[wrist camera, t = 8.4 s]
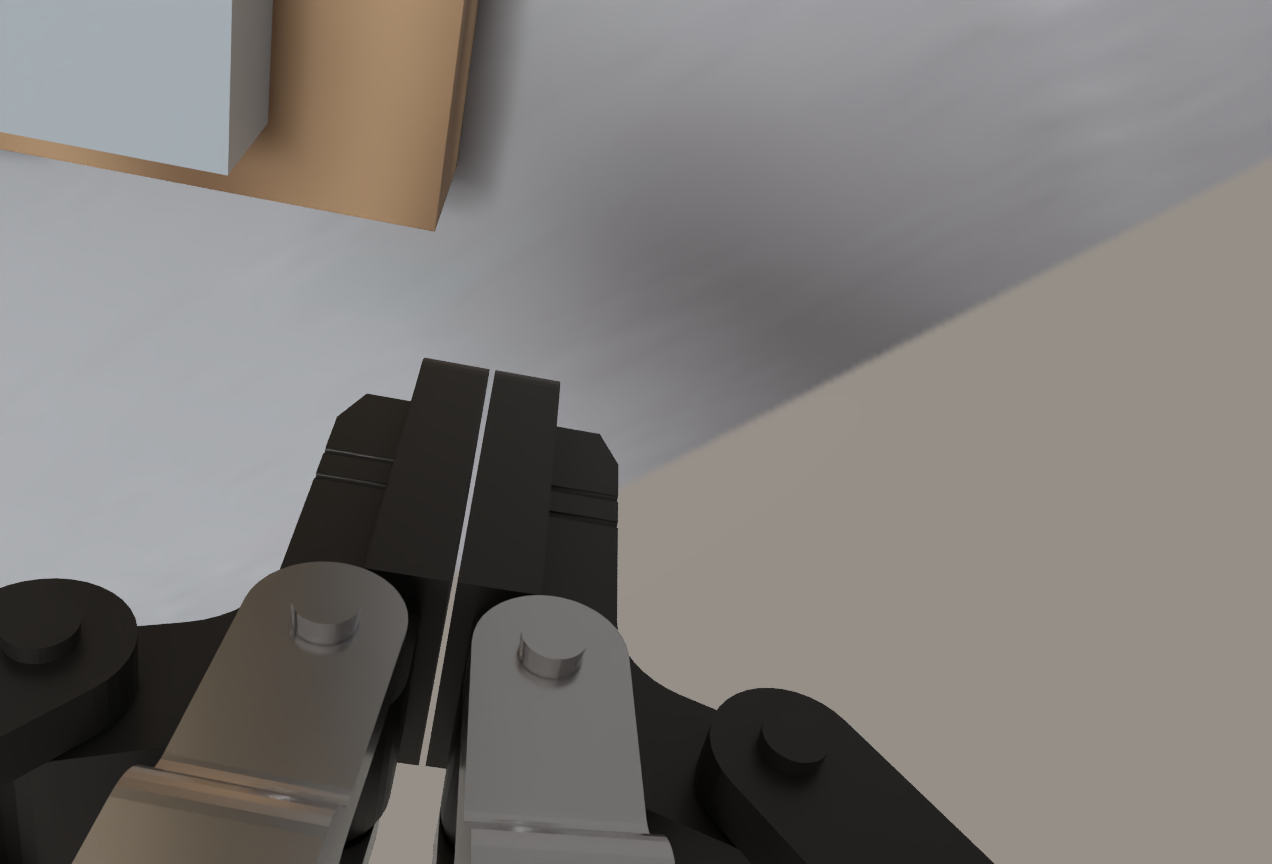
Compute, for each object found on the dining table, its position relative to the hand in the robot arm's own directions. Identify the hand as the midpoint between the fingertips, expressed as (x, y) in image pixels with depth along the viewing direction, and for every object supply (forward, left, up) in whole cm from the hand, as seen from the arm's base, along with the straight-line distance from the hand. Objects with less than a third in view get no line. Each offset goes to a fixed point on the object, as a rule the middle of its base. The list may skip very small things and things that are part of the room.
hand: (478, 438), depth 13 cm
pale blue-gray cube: (+8, 0, -14) cm, 16 cm away
